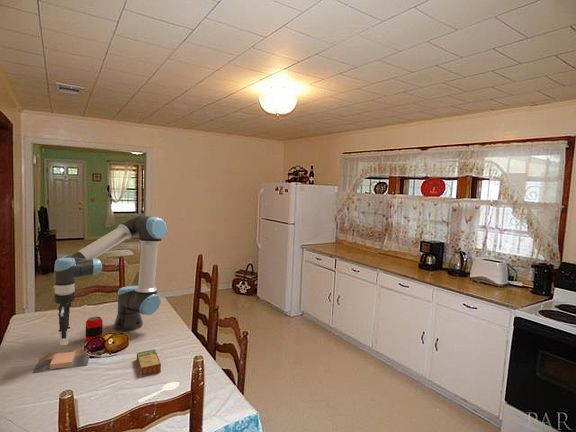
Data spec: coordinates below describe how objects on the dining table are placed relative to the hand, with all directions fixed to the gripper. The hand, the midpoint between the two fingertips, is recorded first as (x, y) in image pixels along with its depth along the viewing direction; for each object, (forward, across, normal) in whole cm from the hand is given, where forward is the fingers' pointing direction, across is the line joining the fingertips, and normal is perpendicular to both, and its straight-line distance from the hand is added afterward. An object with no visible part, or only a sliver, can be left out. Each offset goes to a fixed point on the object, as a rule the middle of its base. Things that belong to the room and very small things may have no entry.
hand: (64, 344), depth 153 cm
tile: (+6, -3, 0) cm, 7 cm away
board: (+8, 0, 0) cm, 8 cm away
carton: (+9, +15, +35) cm, 39 cm away
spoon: (+9, +38, +38) cm, 54 cm away
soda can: (+9, -20, +10) cm, 24 cm away
